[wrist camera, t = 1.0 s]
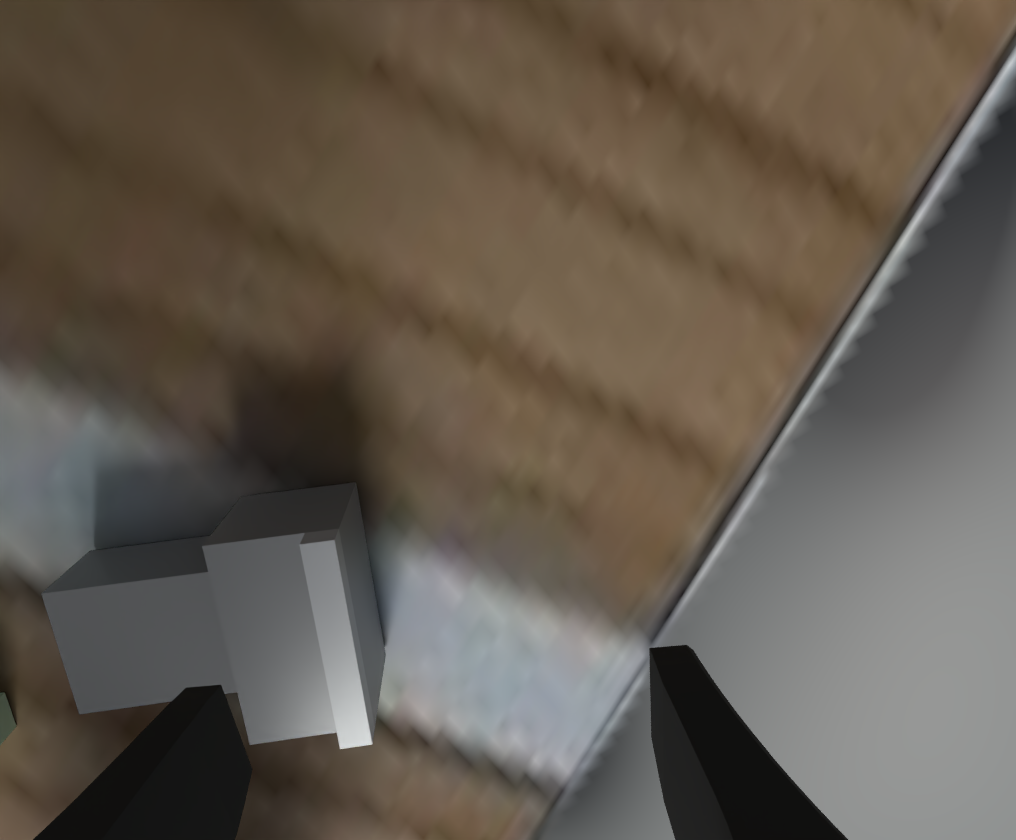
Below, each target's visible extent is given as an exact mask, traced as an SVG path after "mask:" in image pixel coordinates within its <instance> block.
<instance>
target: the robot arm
mask: <svg viewBox="0 0 1016 840" xmlns="http://www.w3.org/2000/svg"><path fill="white" fill-rule="evenodd" d="M649 649H650V693H651V731H652V732H651V737H652V742H653V748H654V753H655V757H656V763H657V768H658V773H659V778H660V783H661V788H662V793H663V798H664V803H665V806H666V809H667V813H668V816H669V819H670V823H671V826H672V830H673V833H674V836H675V839H676V840H848V839H847V838H846V837H845V836H844V835H843V834H842V833H841V832H840V831H839V830H838V829H837V828H836V827H835V826H834V825H833V824H832V823H831V822H830V820H829V819H828V818H827V817H826V816H825V815H824V814H823V813H822V812H821V811H820V810H819V809H818V808H817V807H816V806H815V805H814V804H813V802H812V801H811V800H810V799H809V798H808V797H807V796H806V795H805V794H804V792H803V791H802V790H801V789H800V788H799V787H798V786H797V785H796V784H795V782H794V781H793V780H792V779H791V778H790V777H789V776H788V775H787V773H786V772H785V771H784V770H783V769H782V768H781V767H780V765H779V764H778V763H777V762H776V761H775V760H774V759H773V757H772V756H771V755H770V754H769V752H768V751H767V750H766V748H765V747H764V746H763V745H762V744H761V742H760V741H759V740H758V739H757V737H756V736H755V735H754V734H753V733H752V731H751V730H750V729H749V728H748V726H747V725H746V724H745V723H744V721H743V720H742V719H741V718H740V716H739V715H738V714H737V712H736V711H735V710H734V708H733V707H732V706H731V704H730V703H729V702H728V700H727V699H726V698H725V696H724V695H723V694H722V692H721V691H720V689H719V688H718V686H717V685H716V684H715V683H714V681H713V680H712V678H711V677H710V675H709V674H708V672H707V671H706V669H705V668H704V666H703V665H702V663H701V662H700V660H699V659H698V657H697V656H696V654H695V652H694V651H693V650H692V649H691V648H690V647H689V646H687V645H682V646H669V647H657V648H649ZM251 773H252V767H251V765H250V762H249V759H248V756H247V754H246V751H245V748H244V746H243V743H242V740H241V737H240V735H239V732H238V729H237V727H236V724H235V721H234V718H233V716H232V713H231V710H230V708H229V705H228V702H227V699H226V697H225V694H224V691H223V688H222V686H221V685H211V686H199V687H187V688H185V689H184V690H183V691H182V692H181V693H180V694H179V695H178V696H177V697H176V698H175V699H174V700H173V701H172V702H171V703H170V704H169V705H168V706H167V707H166V708H165V709H164V710H163V711H162V712H161V713H160V714H159V715H158V716H157V717H156V718H155V719H154V720H153V721H152V722H151V723H150V724H149V725H148V726H147V727H146V728H145V729H144V730H143V731H142V732H141V733H140V734H139V735H138V737H137V738H136V739H135V740H134V741H133V742H132V743H131V744H130V745H129V746H128V747H127V748H126V749H125V750H124V751H123V752H122V753H121V754H120V755H119V756H118V757H117V758H116V759H115V760H114V761H113V762H112V763H111V764H110V765H109V766H108V767H107V768H106V769H105V770H104V771H103V772H102V773H101V774H100V775H99V776H98V777H97V778H96V779H95V780H94V781H93V782H92V783H91V784H90V785H89V786H88V787H87V788H86V789H85V790H84V791H83V792H82V793H81V794H80V795H79V796H78V797H77V798H76V799H75V800H74V801H73V802H72V803H71V804H70V805H69V806H68V807H67V808H66V809H65V810H64V811H63V812H62V813H61V814H60V815H59V816H58V817H57V818H55V819H54V820H53V821H52V822H51V823H50V824H49V825H48V826H47V827H46V828H45V829H44V830H43V831H42V832H41V833H40V834H39V835H37V836H36V837H35V838H34V839H33V840H235V837H236V834H237V831H238V827H239V823H240V819H241V815H242V811H243V808H244V804H245V799H246V795H247V791H248V786H249V782H250V778H251Z"/></svg>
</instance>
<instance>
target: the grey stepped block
mask: <svg viewBox="0 0 1016 840" xmlns="http://www.w3.org/2000/svg"><path fill="white" fill-rule="evenodd" d="M41 595H42V598H43V601H44V604H45V607H46V610H47V614H48V617H49V620H50V623H51V626H52V629H53V633H54V636H55V639H56V642H57V645H58V649H59V652H60V655H61V658H62V661H63V664H64V668H65V671H66V674H67V677H68V680H69V683H70V687H71V690H72V693H73V696H74V699H75V702H76V706H77V709H78V712H79V714H86V713H93V712H100V711H107V710H114V709H122V708H129V707H136V706H143V705H150V704H157V703H164V702H171V701H173V700H174V699H175V698H176V697H177V696H178V695H179V694H180V693H181V692H182V691H183V690H184V689H185V688H187V687H199V686H211V685H221V686H222V688H223V691H224V694H229V693H236V692H237V693H238V698H239V702H240V706H241V710H242V714H243V718H244V722H245V727H246V731H247V735H248V739H249V743H250V745H253V744H260V743H267V742H274V741H281V740H287V739H294V738H301V737H308V736H315V735H322V734H329V733H336V732H337V736H338V741H339V746H340V749H344V748H351V747H358V746H365V745H372V743H373V736H374V730H375V723H376V716H377V709H378V703H379V696H380V689H381V682H382V676H383V669H384V662H385V655H386V654H385V648H384V642H383V636H382V631H381V625H380V619H379V613H378V607H377V601H376V596H375V590H374V584H373V578H372V572H371V566H370V560H369V555H368V549H367V543H366V537H365V531H364V525H363V520H362V514H361V508H360V502H359V496H358V490H357V485H356V482H354V483H346V484H338V485H330V486H322V487H314V488H306V489H298V490H290V491H282V492H274V493H266V494H258V495H250V496H242V497H241V498H240V499H239V500H238V501H237V503H236V504H235V505H234V506H233V508H232V509H231V510H230V511H229V513H228V514H227V515H226V516H225V518H224V519H223V520H222V522H221V523H220V524H219V525H218V527H217V528H216V529H215V530H214V532H213V533H212V534H211V535H210V536H203V537H195V538H187V539H179V540H171V541H164V542H156V543H148V544H140V545H132V546H124V547H117V548H109V549H101V550H93V551H89V552H88V553H87V554H86V555H85V556H84V557H82V558H81V559H80V560H79V561H78V562H77V563H76V564H74V565H73V566H72V567H71V568H70V569H69V570H68V571H66V572H65V573H64V574H63V575H62V576H61V577H60V578H59V579H57V580H56V581H55V582H54V583H53V584H52V585H51V586H49V587H48V588H47V589H46V590H45V591H44V592H43V593H41Z"/></svg>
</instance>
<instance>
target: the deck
mask: <svg viewBox="0 0 1016 840" xmlns="http://www.w3.org/2000/svg"><path fill="white" fill-rule="evenodd" d="M16 727H17V726H16V723H15V721H14V718H13V715H12V712H11V709H10V706H9V703H8V700H7V697H6V695H5V692H4V693H0V745H1V744H2V742H3V741H4V740H5V739H6V738H7V737H8V736H9V735H10V733H11V732H12V731H13V730H14V729H15V728H16Z"/></svg>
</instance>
